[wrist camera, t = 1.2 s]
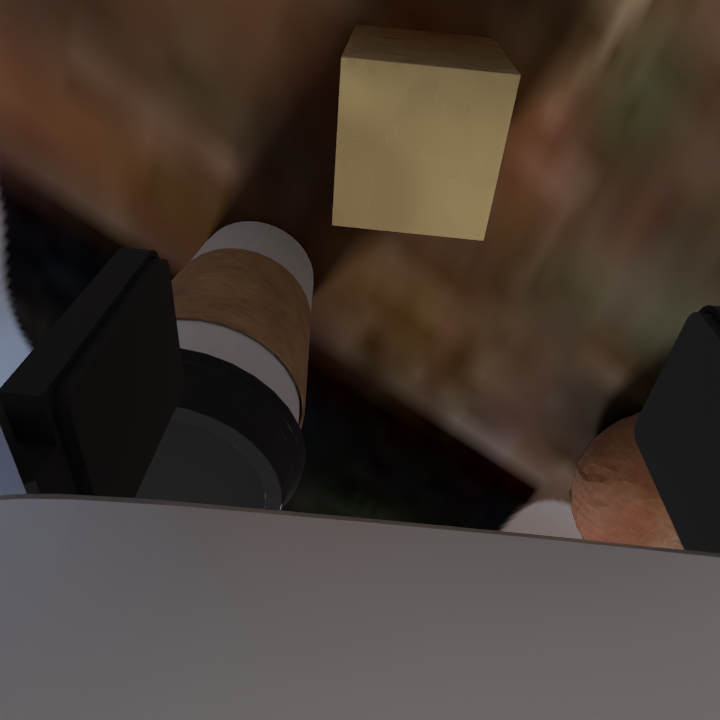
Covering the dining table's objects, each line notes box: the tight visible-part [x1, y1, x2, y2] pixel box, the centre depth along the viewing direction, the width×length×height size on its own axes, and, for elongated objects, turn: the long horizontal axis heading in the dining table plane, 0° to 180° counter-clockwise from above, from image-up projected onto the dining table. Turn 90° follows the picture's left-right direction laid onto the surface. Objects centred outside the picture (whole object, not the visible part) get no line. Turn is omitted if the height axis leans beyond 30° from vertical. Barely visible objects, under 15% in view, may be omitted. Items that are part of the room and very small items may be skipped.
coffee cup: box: [135, 221, 313, 511], centre depth 25 cm, size 8×8×15 cm
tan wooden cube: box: [332, 24, 521, 241], centre depth 22 cm, size 6×6×7 cm
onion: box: [569, 412, 684, 550], centre depth 32 cm, size 10×9×10 cm
